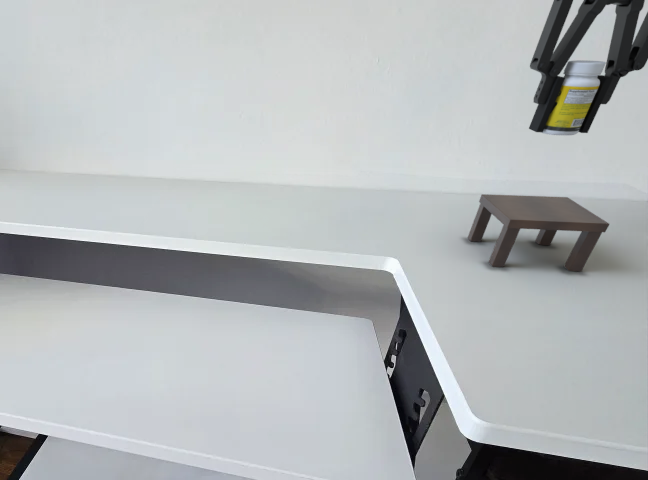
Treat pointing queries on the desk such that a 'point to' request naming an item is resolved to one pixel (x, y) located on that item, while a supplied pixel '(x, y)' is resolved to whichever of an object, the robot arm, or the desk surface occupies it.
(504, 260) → the small wooden table
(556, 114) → the supplement bottle
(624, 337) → the desk surface
